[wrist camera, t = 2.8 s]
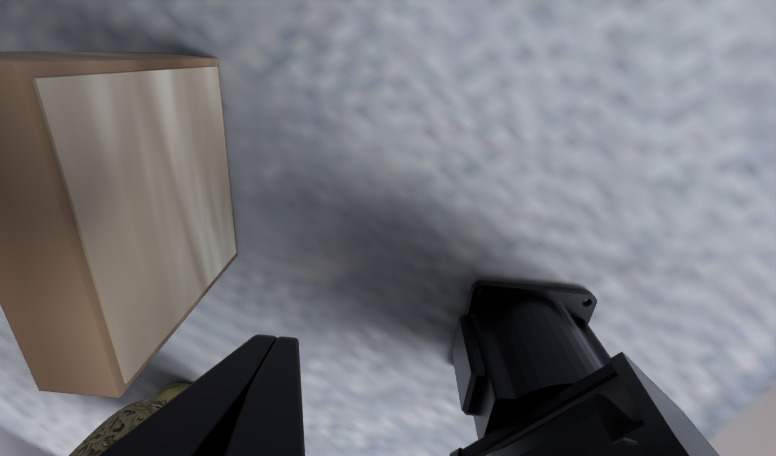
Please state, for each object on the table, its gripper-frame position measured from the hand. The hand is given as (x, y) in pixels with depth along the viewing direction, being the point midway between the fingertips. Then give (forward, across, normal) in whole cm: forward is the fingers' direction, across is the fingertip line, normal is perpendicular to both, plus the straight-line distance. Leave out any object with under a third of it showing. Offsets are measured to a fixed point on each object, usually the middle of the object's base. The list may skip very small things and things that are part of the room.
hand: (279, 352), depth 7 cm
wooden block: (+11, +7, 0) cm, 13 cm away
